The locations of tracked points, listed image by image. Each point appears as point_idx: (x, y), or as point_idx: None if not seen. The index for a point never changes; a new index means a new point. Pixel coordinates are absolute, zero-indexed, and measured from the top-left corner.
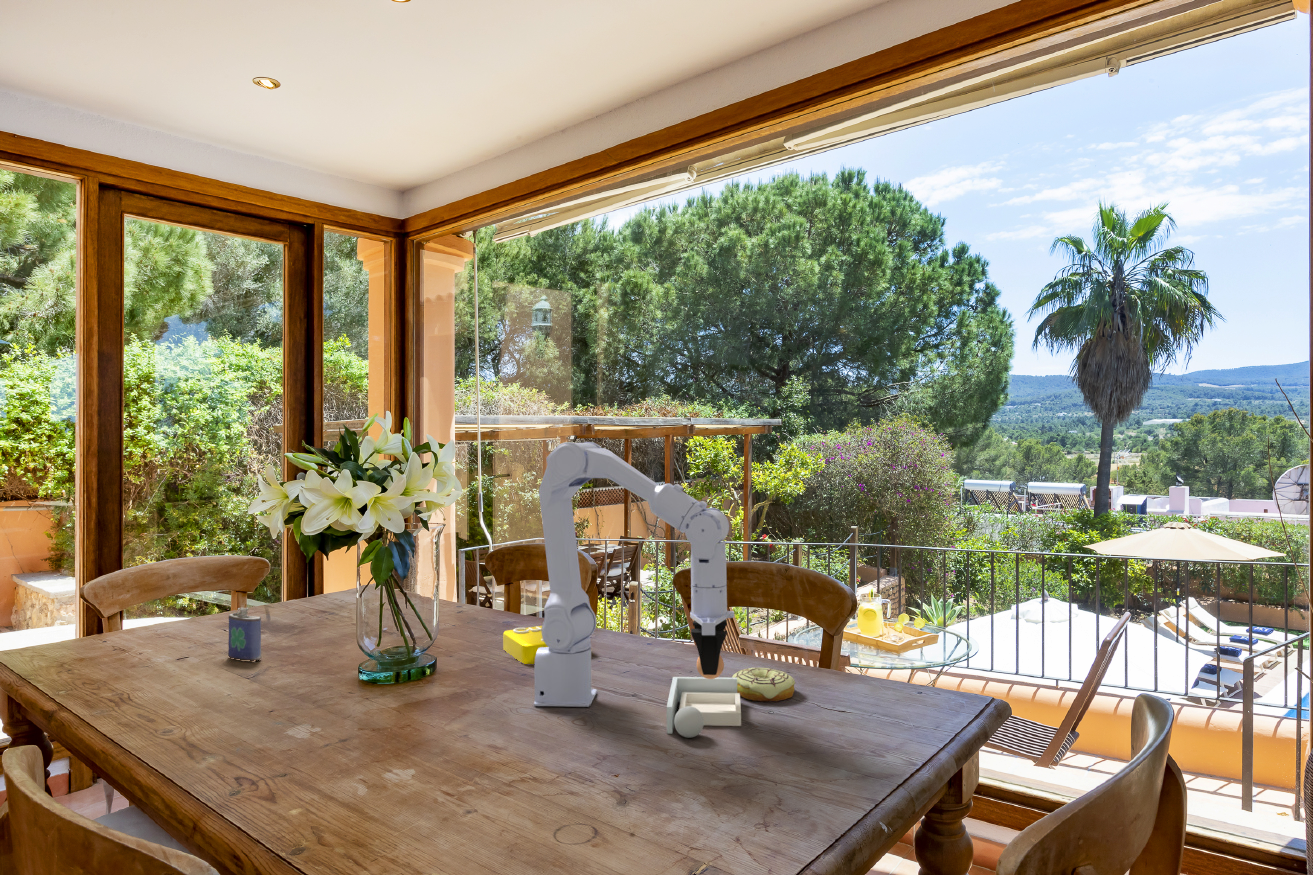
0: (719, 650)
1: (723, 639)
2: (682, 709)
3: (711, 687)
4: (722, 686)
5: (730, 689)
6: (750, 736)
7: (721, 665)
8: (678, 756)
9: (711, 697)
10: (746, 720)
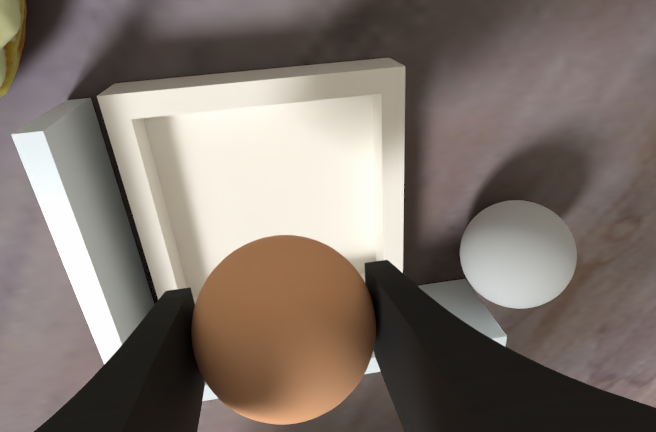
0: (501, 349)
1: (633, 407)
2: (547, 299)
3: (107, 242)
4: (87, 194)
5: (78, 149)
6: (500, 9)
7: (332, 261)
8: (633, 229)
9: (164, 220)
10: (319, 37)
